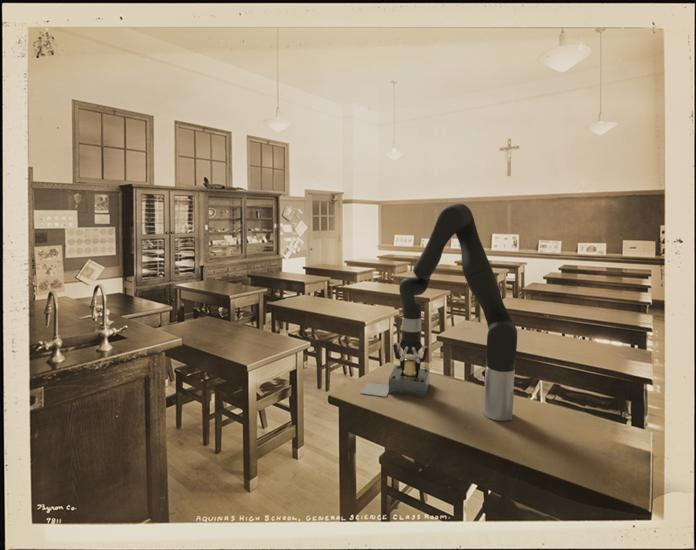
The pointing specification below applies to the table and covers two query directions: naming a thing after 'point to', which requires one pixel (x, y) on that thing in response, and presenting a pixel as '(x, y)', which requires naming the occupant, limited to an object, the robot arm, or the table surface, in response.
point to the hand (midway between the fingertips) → (409, 370)
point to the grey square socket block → (409, 383)
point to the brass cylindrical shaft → (410, 367)
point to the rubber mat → (375, 390)
